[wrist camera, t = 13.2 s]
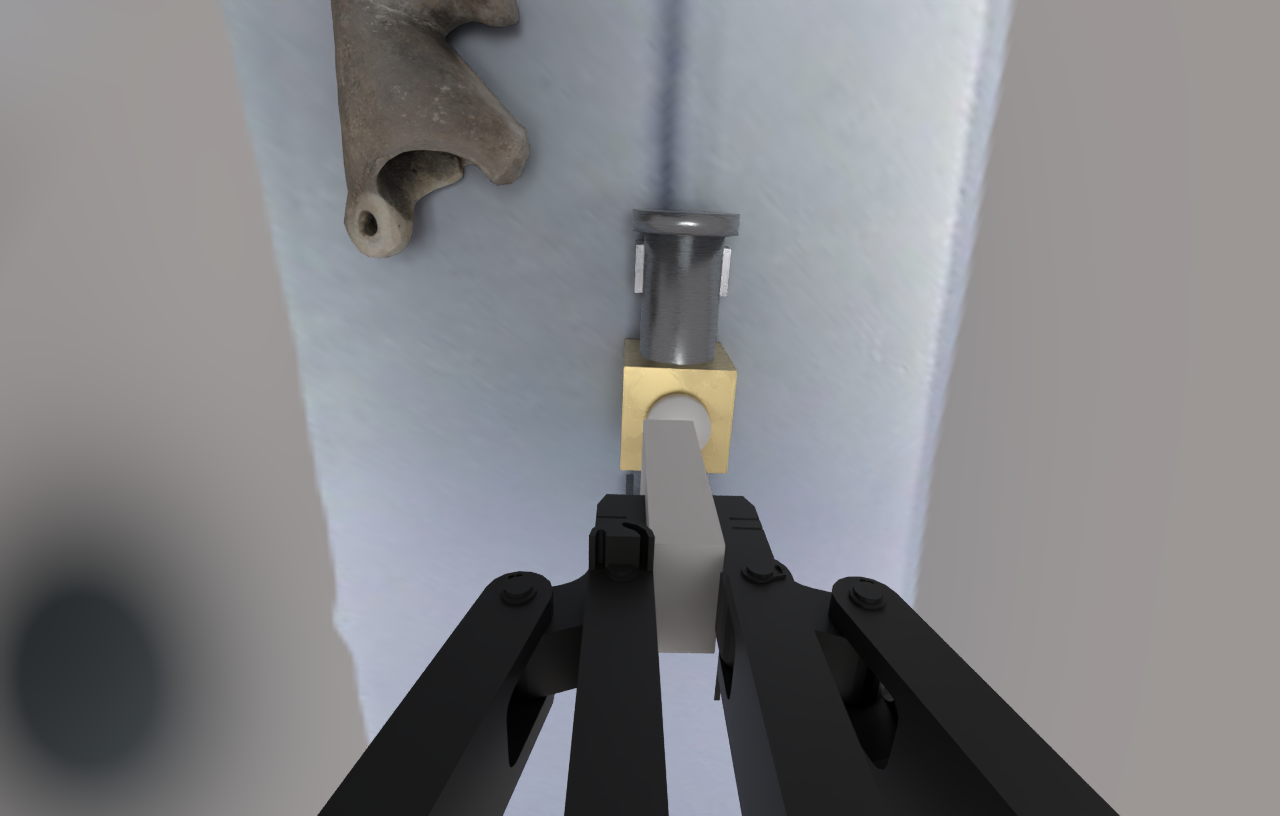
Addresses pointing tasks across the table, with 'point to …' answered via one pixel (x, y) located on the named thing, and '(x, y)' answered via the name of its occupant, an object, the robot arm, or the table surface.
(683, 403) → the lever
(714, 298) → the valve pipe
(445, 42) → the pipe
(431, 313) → the table surface
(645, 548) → the robot arm
